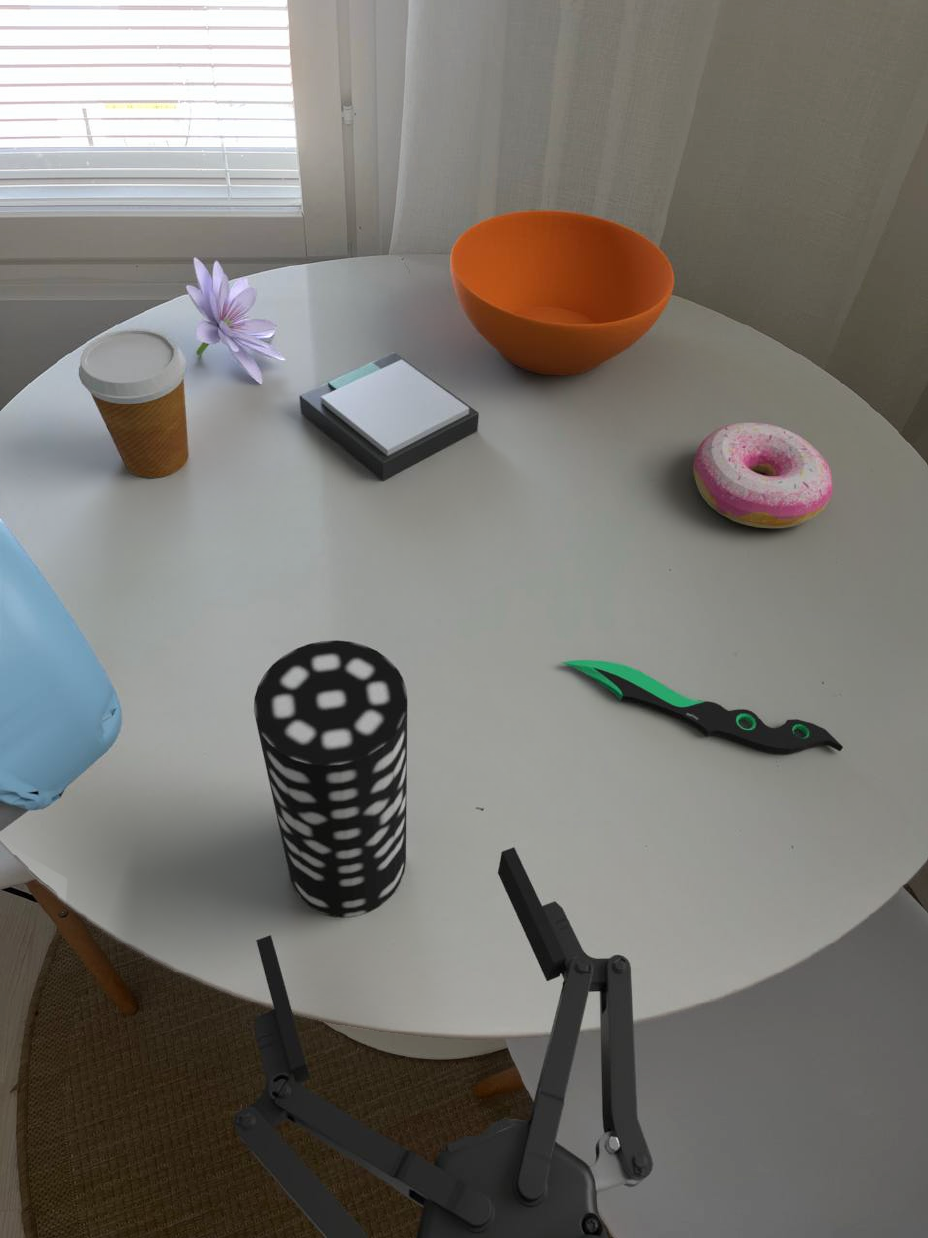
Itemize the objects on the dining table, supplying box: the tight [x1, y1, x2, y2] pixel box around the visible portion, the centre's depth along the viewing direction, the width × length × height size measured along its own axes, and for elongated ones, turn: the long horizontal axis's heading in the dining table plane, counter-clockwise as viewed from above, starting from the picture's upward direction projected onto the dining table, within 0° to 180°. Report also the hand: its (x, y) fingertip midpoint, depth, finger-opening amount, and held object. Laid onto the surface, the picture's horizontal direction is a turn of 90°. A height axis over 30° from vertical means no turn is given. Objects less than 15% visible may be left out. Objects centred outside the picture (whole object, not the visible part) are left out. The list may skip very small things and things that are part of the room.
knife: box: [560, 659, 844, 755], centre depth 75 cm, size 23×1×5 cm
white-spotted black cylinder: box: [253, 639, 408, 918], centre depth 57 cm, size 8×8×20 cm
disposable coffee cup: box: [78, 328, 190, 479], centre depth 87 cm, size 10×10×12 cm
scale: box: [298, 351, 480, 482], centre depth 96 cm, size 14×13×3 cm
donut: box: [693, 422, 834, 529], centre depth 91 cm, size 14×13×5 cm
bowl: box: [449, 209, 675, 376], centre depth 105 cm, size 25×25×10 cm
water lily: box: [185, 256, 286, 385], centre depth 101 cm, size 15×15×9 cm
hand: (390, 901), depth 49 cm, fingers open, 13 cm apart
